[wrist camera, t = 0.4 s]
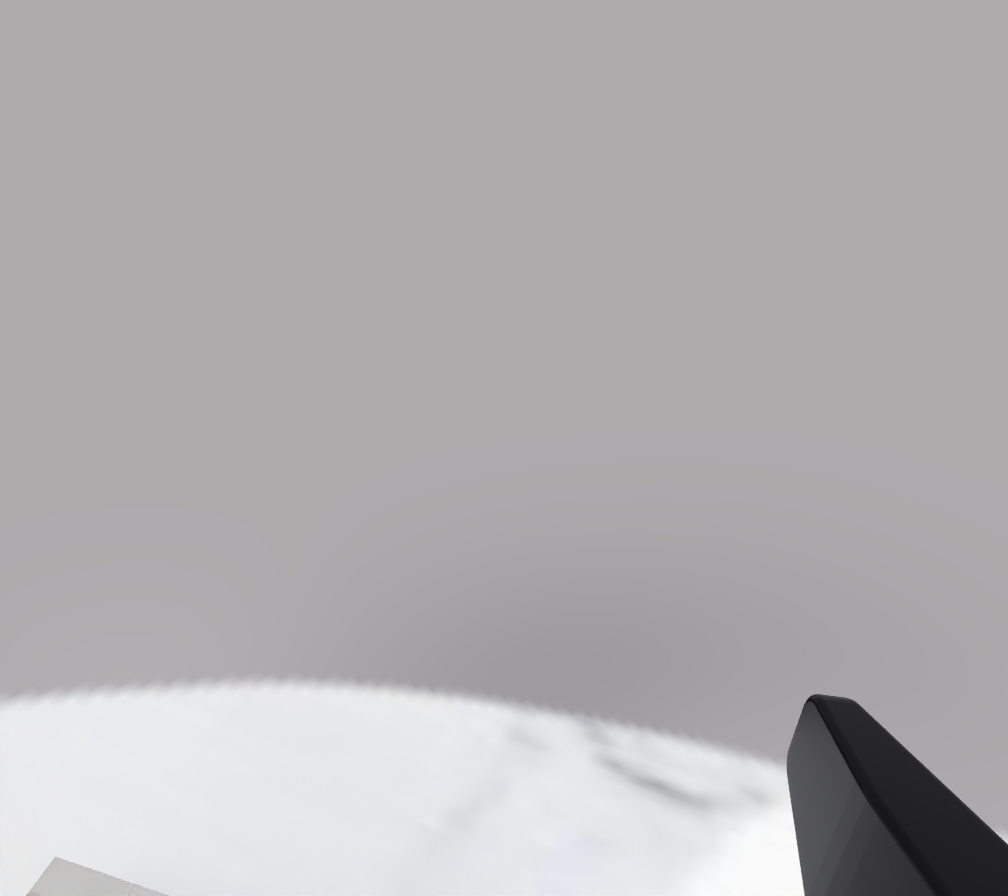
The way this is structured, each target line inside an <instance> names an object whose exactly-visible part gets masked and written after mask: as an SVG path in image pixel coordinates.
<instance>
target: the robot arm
mask: <svg viewBox="0 0 1008 896" xmlns="http://www.w3.org/2000/svg"><path fill="white" fill-rule="evenodd" d="M787 777H788V784H789V791H790V798H791V805H792V812H793V818H794V825H795V832H796V839H797V846H798V853H799V860H800V867H801V873H802V880H803V887H804V894H805V896H1008V844H1007V843H1006V842H1005V841H1004V840H1003V839H1001V838H1000V837H999V836H998V835H997V834H996V833H995V832H994V831H993V830H992V829H991V828H990V827H989V826H988V825H987V824H985V823H984V822H983V821H982V820H981V819H980V818H979V817H978V816H977V815H976V814H975V813H974V812H973V811H971V810H970V808H968V807H967V806H966V805H965V804H964V803H963V802H962V801H961V800H960V799H959V798H958V797H957V796H956V795H955V794H954V793H952V791H950V790H949V789H948V788H947V787H946V786H945V785H944V784H943V783H942V782H941V781H940V780H939V779H938V778H937V777H935V776H934V775H933V774H932V773H931V772H930V771H929V770H928V769H927V768H926V767H925V766H924V765H923V764H922V763H921V762H920V761H919V760H917V759H916V758H915V757H914V756H913V755H912V754H911V753H910V752H909V751H908V750H907V749H906V748H905V747H904V746H902V744H900V743H899V742H898V741H897V740H896V739H895V738H894V737H893V736H892V735H891V734H890V733H889V732H888V731H887V730H886V729H885V728H883V727H882V726H881V725H880V724H879V723H878V722H877V721H876V720H875V719H874V718H873V717H872V716H871V715H870V714H868V713H867V712H866V711H865V710H864V709H863V708H862V707H861V706H860V705H859V704H858V703H856V702H855V701H853V700H851V699H848V698H844V697H836V696H828V695H820V694H815V695H812V696H810V697H809V698H808V699H807V701H806V703H805V704H804V707H803V710H802V713H801V715H800V718H799V721H798V724H797V727H796V730H795V733H794V735H793V738H792V741H791V744H790V747H789V750H788V755H787Z"/></svg>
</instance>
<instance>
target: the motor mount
mask: <svg viewBox="0 0 1008 896" xmlns="http://www.w3.org/2000/svg"><path fill="white" fill-rule="evenodd" d="M26 896H168V895H165V894H162V893H159V892H156V891H153V890H150V889H147V888H144V887H142V886H139V885H136V884H133V883H130V882H127V881H124V880H121V879H118V878H115V877H113V876H110V875H107V874H104V873H101V872H98V871H95V870H92V869H89V868H86V867H83V866H81V865H78V864H75V863H72V862H69V861H66V860H63V859H60V858H57V857H55V858H54V859H53V861H52V862H51V863H50V865H49V866H48V867H47V869H46V870H45V871H44V873H43V874H42V875H41V877H40V878H39V879H38V881H37V882H36V883H35V885H34V886H33V887H32V889H31V890H30V891H29V893H28V894H27V895H26Z"/></svg>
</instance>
